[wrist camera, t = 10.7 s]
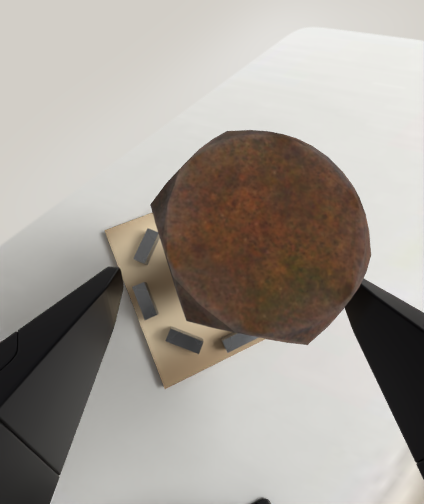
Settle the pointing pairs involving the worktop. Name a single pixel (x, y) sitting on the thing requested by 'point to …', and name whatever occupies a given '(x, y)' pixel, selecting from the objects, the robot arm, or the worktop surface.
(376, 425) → the worktop surface
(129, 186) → the worktop surface
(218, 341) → the tan flat square board
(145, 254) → the castellated ring
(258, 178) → the bolt
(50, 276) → the worktop surface
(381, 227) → the worktop surface
